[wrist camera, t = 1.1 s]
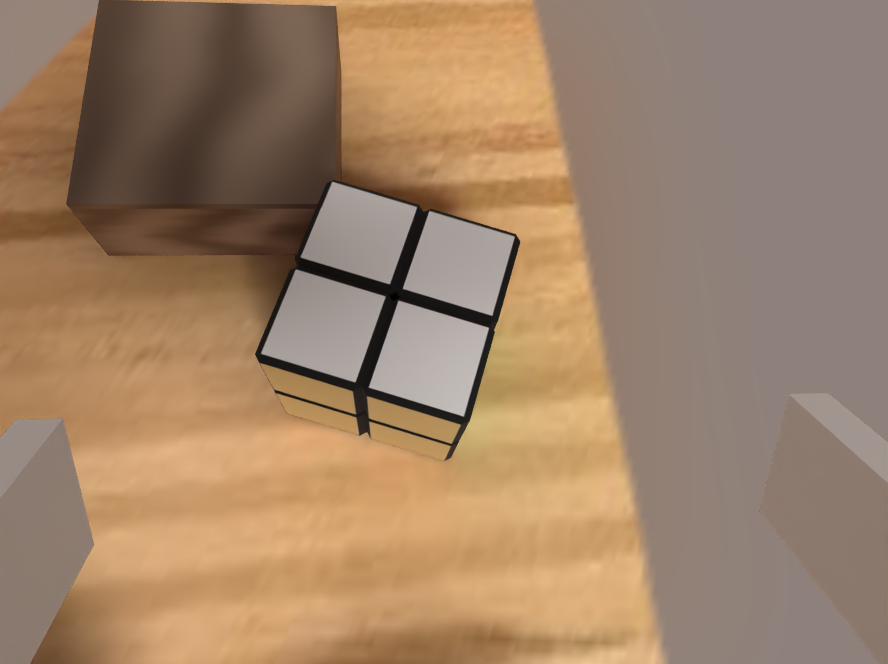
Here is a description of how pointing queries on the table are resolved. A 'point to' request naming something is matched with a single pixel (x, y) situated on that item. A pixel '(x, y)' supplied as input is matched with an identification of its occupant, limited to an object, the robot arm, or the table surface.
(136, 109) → the walnut stand
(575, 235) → the table surface
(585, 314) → the table surface
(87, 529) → the robot arm
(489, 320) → the puzzle cube
